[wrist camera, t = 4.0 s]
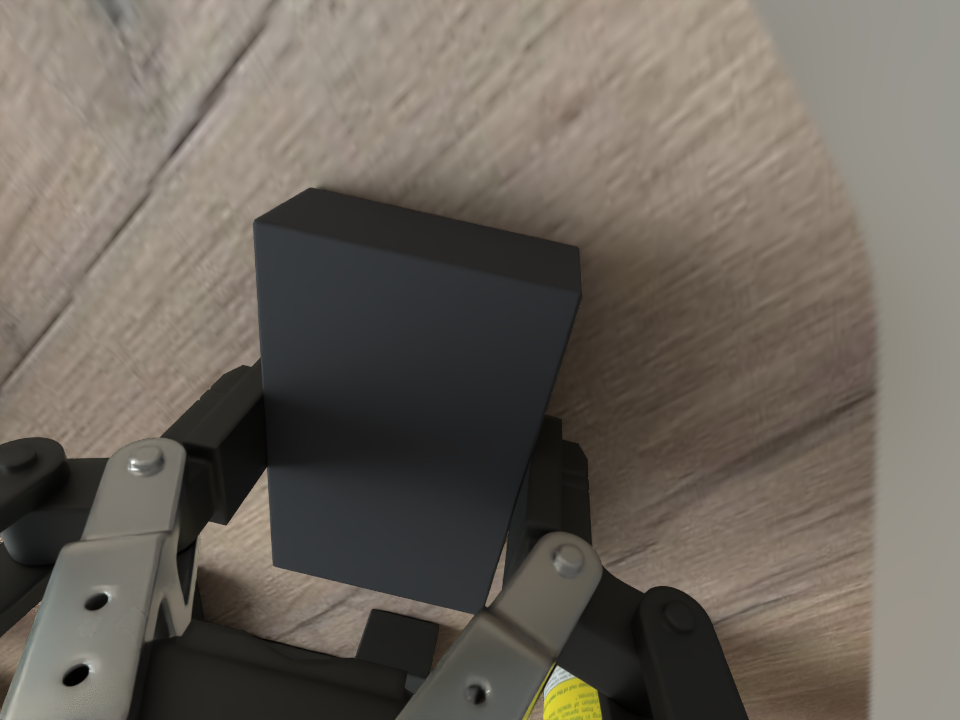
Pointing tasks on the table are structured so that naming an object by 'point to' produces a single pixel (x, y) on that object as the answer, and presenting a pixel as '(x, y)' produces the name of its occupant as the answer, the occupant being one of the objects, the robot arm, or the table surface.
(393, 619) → the black pad
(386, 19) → the table surface
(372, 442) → the charcoal pad
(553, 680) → the supplement bottle
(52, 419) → the table surface
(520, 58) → the table surface
